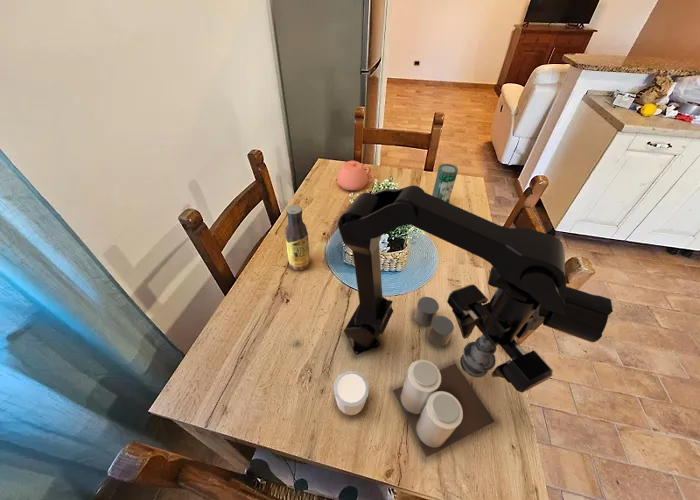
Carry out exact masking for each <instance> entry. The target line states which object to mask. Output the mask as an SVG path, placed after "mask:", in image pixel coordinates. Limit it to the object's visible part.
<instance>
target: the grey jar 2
mask: <svg viewBox="0 0 700 500" xmlns="http://www.w3.org/2000/svg"><path fill="white" fill-rule="evenodd" d="M454 329H455V326H454V323H453V321H452V320H451V319H450V318H448V317H447V316H444V315H436V317H435V318H434V319H433V320H432V322H431V325H430V326H429V328H428V331H427V335H426V338H427V340H428V342H429V344H431V345H432V346H434V347H437V348H443V347H445V346H447V344H448V343H449V340H450V339H451V337H452V334H453V332H454V331H455V330H454Z"/></svg>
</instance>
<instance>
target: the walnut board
mask: <svg viewBox="0 0 700 500" xmlns="http://www.w3.org/2000/svg"><path fill="white" fill-rule="evenodd" d="M438 370H439V371H440V374H441V383H440V386H439V388H438V389H437V391H436V392H438V391H444V392H447V393H450V394H451V395H453V396H454V397H455V398H456V399H457V400H458V401H459V403H460V405H461V407H462V411H463V418H462V421H461V423H460V424H459V425H458V427H457V428H456V429H455V430H454V432H453V433H452V434H451V435H450V437H449V438H448V439H447V440H446V442H445V443H444V444H443V445H442V446H440V447H430V446H428V445H426V444H424V443H423V442H422V441H421V439H420V438H419V436H418V434H417V430H416V424H417V421H418V419H419V417H420V415H421V414H414V413H411V412H409V411H408V410H406V409H405V407H404V406H403V404H402V402H401V391H402V388H403V385H402V386H400V387H398V388H396V389H395V388H394V389H393V390H392V392H393V394H394V396H395V398H396V400H397V402H398V404H399V406H400V408H401V410H402V413H403V414H404V417H405V418H406V420H407V422H408V424H409V426H410V429H411V431H412V432H413V434H414V436H415V438H416V440H417V442H418V444H419V446H420V448H421V450H422V452H423V454H424V456H425V458H428V457H429V456H432V455H434V454H435V453H438V452H440V451H441V450H444V449H445V448H447V447H449V446H451V445H453V444H454V443H456V442H459V441H460V440H463V439H464V438H466V437H468V436H470V435H472V434H473V433H476V432H477V431H479V430H482V429H484V428H485V427H487V426H490V425H492V424H493V423H495V422H496V421H495V419H494V418H493V416H492V414H490V411H488V409H487V408H486V406H485V405H484V403H483V401H482V400H481V399H480V397H479V396H478V394H477V393H476V391H475V390H474V389H473V387H472V385H471V384H470V382H469V381H468V380H467V378H466V376H465V375H464V374H463V372H462V371H461V369H460V368H459V366H458V365H457V364H456V363H453V364H451V365H448V366H446V367H444V368H442V369H438Z"/></svg>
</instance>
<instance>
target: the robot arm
mask: <svg viewBox="0 0 700 500" xmlns="http://www.w3.org/2000/svg"><path fill="white" fill-rule="evenodd" d="M409 225H410V226H412V227H415V228H417V229H419V230H420V231H423V232H425V233H427V234H429V235H431V236H433V237H436V238H437V239H441V240H442V241H444V242H447V243H449V244H451V245H453V246H455V247H457V248H460V249H461V250H463V251H466V252H468V253H470V254H472V255H474V256H477V257H478V258H480V259H483V260H484V261H486V262H487V263H489V264H490V266H491V268H490V271H489V275H488V280H487V284H488V286H491V287H493V288H496V290H495V292H494V293H493V295H492V297H491V299H490V300H489V298H488V297H487V296H486V295H485V294H484V293H483V291H482V290H480V288H479V287H478V286H477V285H476V284H468V285H465V286H461V287H460V288H457V289H454V290H452V291H451V292H449V295H448V298H447V301H446V303H447V304H448V305H449V307H450V308H451V312H452V313H453V316H454V318H455V319H456V320H455V321H456V322H457V325H458V327H459V330H460V333H461V336H462V339H463V340H466V339H468V338H470V336H471V335H472V334H473V331H474V329H475V327H477V329H478V330H479V331H480V332H481V333H482V334H483V335H484V336H485V337H486V338H487V340H488V341H489V342H490V343H491V345H492V346H493V347H494V346H496V345H497V346H498V345H499V346H500V347H501V348H502V350H503V351H504V352H505V354H506V355H507V356H508V357H509V358H510V359H508V361H506V362H503V363H502V364H501V363H500V364H499V365H497V366H496V367H495V368H494V370H493V371H492V372H491V377H492V378H501V379H504V380H505V381H506V382H507V383H509V384H511V386H512V387H513V388H514V389H515V391H517V392H519V393H521V394H523V393H525V392H527V391H529V390H531V389H532V388H534V387H537V386H539V385H540V384H542V383H544V382H547V381H548V380H549V379H550V378H551V377H552V376H553V368H552V367H550V364H548V363H547V362H546V361H545V360H544V359H543V358H542V357H541V355H540V354H539V352H537V351H536V350H531V351H525V350H524V349H523V347H522V346H520V344H519V343H518V342H517V341H516V340H515V338H517V339H522V338H524V337H525V336H526V335H527V334H528V332H529V331H536V330H537V329H539V327H540V326H544V327H547V328H550V329H552V330H556V331H558V332H561V333H564V334H566V335H569V336H572V337H575V338H578V339H581V340H583V341H587V342H589V343H596V342H597V341H599V340H601V338H602V336H603V333H604V331H605V329H606V327H607V324H608V319H609V316H610V315H611V314H612V313H613V312H614V310H613V309H614V308H613V302H612V299H611V298H608V297H606V296H601V295H598V294H591V293H589V292H585V291H582V290H579V289H577V288H573V287H569V286H567V274H566V250H565V246H564V244H563V242H562V241H561V239H559V238H558V237H556V236H555V235H552V234H549V233H546V232H542V231H539V230H535V229H533V228H528V227H507V226H503V225H500V224H497V223H495V222H493V221H491V220H488V219H486V218H484V217H481V216H479V215H477V214H474V213H473V212H471V211H468V210H466V209H463V208H461V207H459V206H457V205H454V204H452V203H450V202H449V203H448V202H445V201H443V200H441V199H439V198H436V197H434V196H432V194H429V193H427V192H426V191H425V190H424V189H423V187H420V186H418V185H409V186H408V185H407V186H405V187H402V188H387V189H383V190H380V191H377V192H374V193H371V192H362V193H360V194H359V195H357V197H355V198H354V200H353V201H352V202H351V203H350V204H349V206H348V207H347V208H346V209H345V210H344V212H343V213H342V214H341V215H340V216H339V218H338V220H337V228H338V232H339V233H340V236H341V239H342V242H343V244H344V245H345V247H347V248H348V249H350V251H351V252H352V259H353V266H354V273H355V281H356V287H357V295H358V303H359V304H357V307H356V309H355V310H354V313H353V314H352V316H351V317H350V318H349V321H348V323H347V325H346V326H345V328H344V330H343V332H344V334H345V336H346V338H347V341H348V342H349V344H350V347H351V349H352V351H353V353H354V355H355V356H358V355H361V354H363V353H365V352H368V351H370V350H373V349H376V348H378V347H380V346H381V342H380V341H379V337H380V336H381V335H382V336H383V334H384V333H385V330H386V328H387V326H388V324H389V321H390V319H391V317H392V315H393V314H394V309H393V302H394V301H393V300H392V299H391V300H390V299H387V298H386V297H385V296H383V286H382V285H383V283H382V269H381V268H382V267H381V253H380V249H381V248H380V242H381V238H382V236H384V235H385V234H387V233H389V232H391V231H393V230H395V229H397V228H400V227H404V226H409ZM482 334H481V335H482ZM497 346H496V347H497Z"/></svg>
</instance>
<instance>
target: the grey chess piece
mask: <svg viewBox="0 0 700 500" xmlns="http://www.w3.org/2000/svg"><path fill="white" fill-rule="evenodd" d="M497 346H498V345H496V346H494V347H493V346H492V345H491V343H490V342H489V341H488V340H487V338H486V337H485V336H484V335H483V334H481V335H480V336H479V337H477V338H476V340H475V341H470V342H468V343H466V344H465V345H464V347H463V350H462V353H463V354H461V356H460V358H459V364H460V367H461V369H462V370H463V372H464V373H466V375H468V376H469V377H471V378H477V379H478V378H484V377H485V376H486V375H487V374H488V371H491V370H492V369H493V368H494V367H495V366H496V362H497V359H496V355H495V353H496V351H497Z"/></svg>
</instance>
